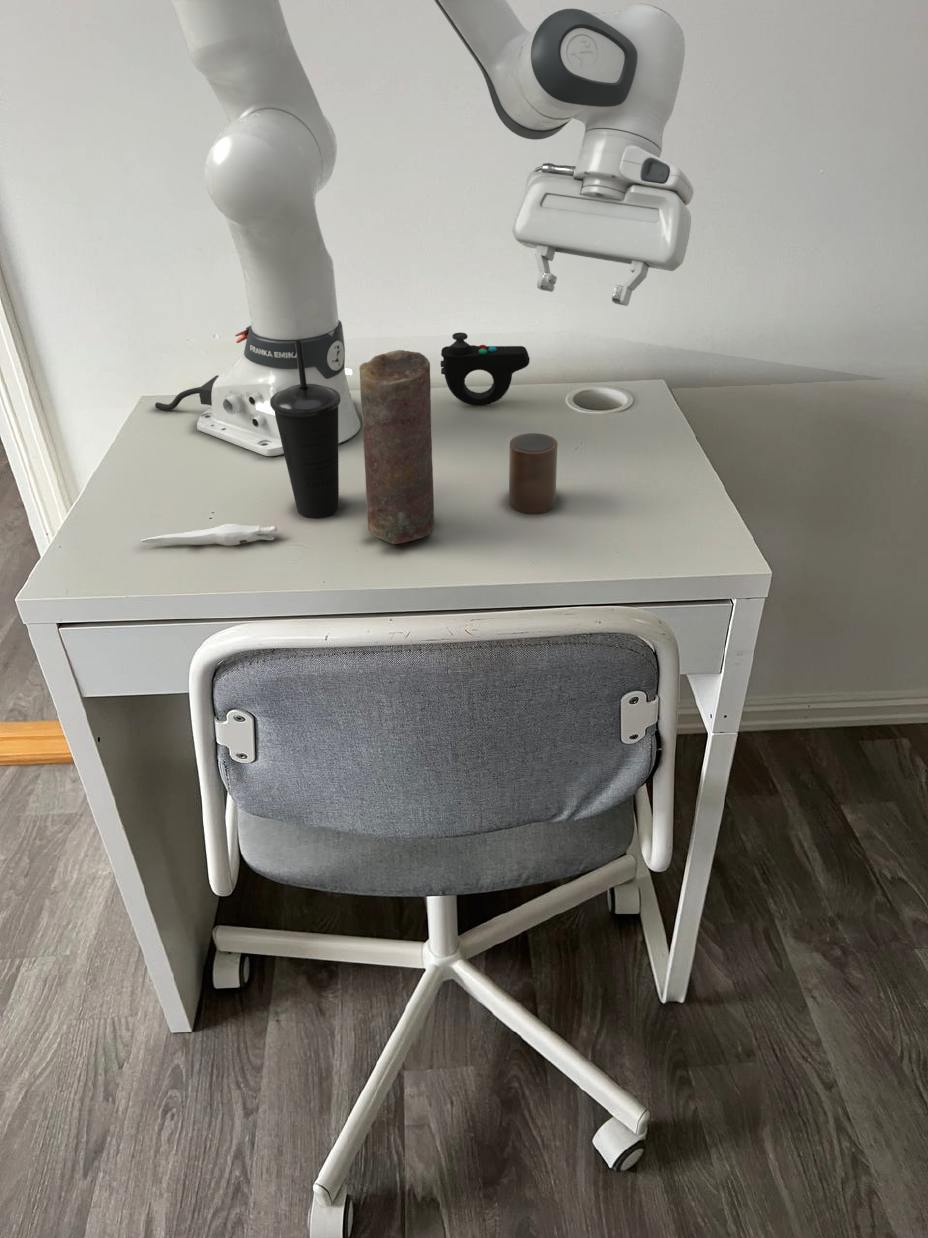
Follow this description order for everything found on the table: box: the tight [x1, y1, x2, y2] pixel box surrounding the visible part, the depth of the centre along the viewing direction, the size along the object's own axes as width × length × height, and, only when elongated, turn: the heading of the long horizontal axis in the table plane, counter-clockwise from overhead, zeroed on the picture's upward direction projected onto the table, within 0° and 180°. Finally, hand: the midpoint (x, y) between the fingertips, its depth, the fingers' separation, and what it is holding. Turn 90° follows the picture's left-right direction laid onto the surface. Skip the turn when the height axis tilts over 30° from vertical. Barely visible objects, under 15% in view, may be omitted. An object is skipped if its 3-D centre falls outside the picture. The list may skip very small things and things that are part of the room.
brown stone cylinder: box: [358, 349, 435, 545], centre depth 103 cm, size 8×7×20 cm
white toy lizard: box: [139, 523, 278, 547], centre depth 108 cm, size 15×3×2 cm, turn 96°
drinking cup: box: [270, 340, 341, 519], centre depth 109 cm, size 8×8×20 cm
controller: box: [439, 332, 531, 407], centre depth 136 cm, size 4×12×10 cm, turn 90°
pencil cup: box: [508, 432, 558, 515], centre depth 112 cm, size 5×5×8 cm
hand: (581, 296), depth 112 cm, fingers open, 8 cm apart
